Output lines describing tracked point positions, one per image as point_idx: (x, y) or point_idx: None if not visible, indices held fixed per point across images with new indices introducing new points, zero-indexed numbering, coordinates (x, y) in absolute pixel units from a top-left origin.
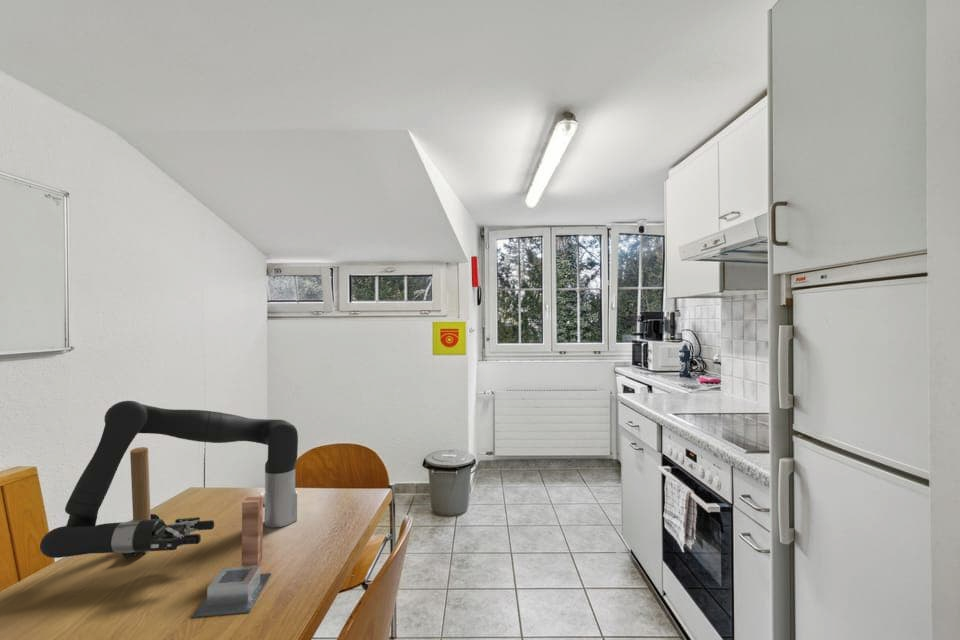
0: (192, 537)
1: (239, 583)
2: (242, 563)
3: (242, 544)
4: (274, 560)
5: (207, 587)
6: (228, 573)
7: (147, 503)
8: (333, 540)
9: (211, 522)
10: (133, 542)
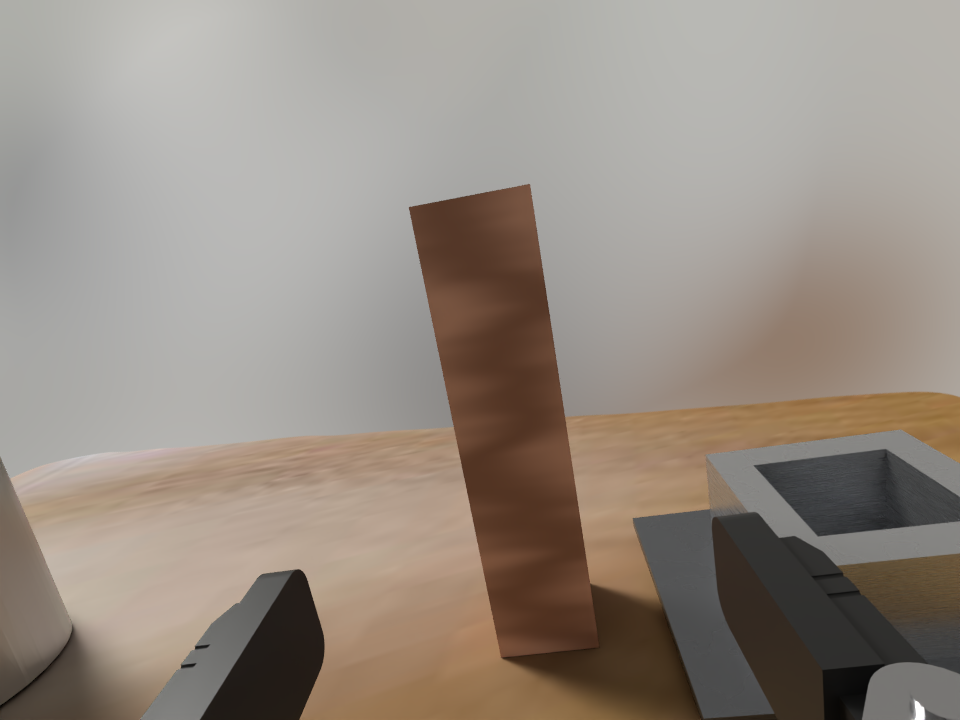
0: (811, 572)
1: (917, 450)
2: (592, 600)
3: (575, 488)
4: None
5: None
6: None
7: None
8: (381, 463)
9: (295, 587)
10: None
